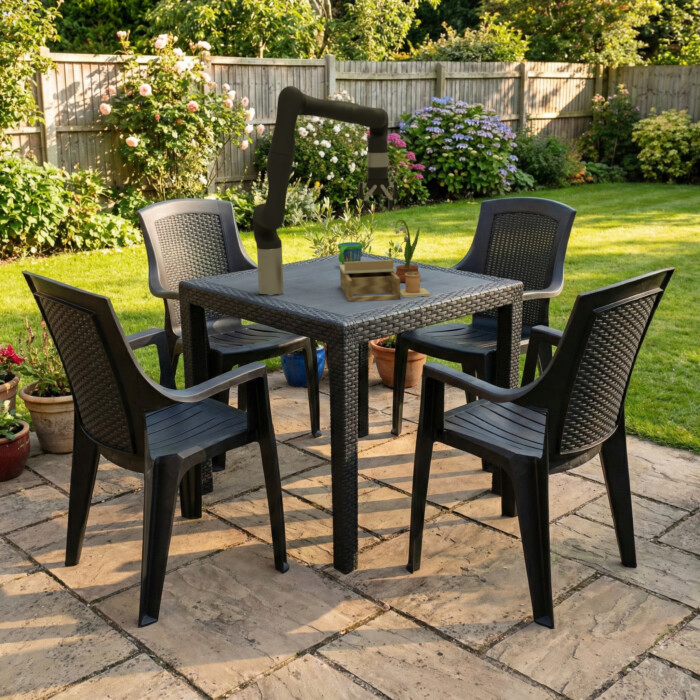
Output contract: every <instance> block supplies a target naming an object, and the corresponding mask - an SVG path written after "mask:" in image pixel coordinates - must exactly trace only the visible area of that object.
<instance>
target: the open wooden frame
mask: <svg viewBox="0 0 700 700" xmlns="http://www.w3.org/2000/svg"><path fill="white" fill-rule="evenodd" d="M339 269H340V268H339ZM339 273H340V274H339V275H340V276H339V278H340V279H339V280H340V288H341V290H342V292H343V294H344V295H345V296H346V298H347V300H348V302H349V303H352V302H354V303H355V301H356V302H370V301H371V302H373V301H393V300H394V301H395V300H396V301H397V300H401V295H400V289H401V282H400V278H399V277H398V276H397V275H396V274H395V273H396V272H395V271H391V272H368V273H346V274H343V272H342V271H341V269H340V270H339ZM365 294H366V295H365ZM370 294H371V295H370ZM372 294H373V295H372ZM374 294H381V295H374ZM382 294H383V295H382ZM353 295H361V296H353Z"/></svg>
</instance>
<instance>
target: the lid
mask: <svg viewBox="0 0 700 700" xmlns="http://www.w3.org/2000/svg"><path fill="white" fill-rule="evenodd" d="M338 266H339V269H341V271H342V272H343V274H346V273H368V272H391V271H393V272H396V267H394V260H393V259H386V260H385V259H382V260H362V261H361V260H360V261H356V262H344V265H342V264H339V265H338Z"/></svg>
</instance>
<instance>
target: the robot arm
mask: <svg viewBox="0 0 700 700" xmlns="http://www.w3.org/2000/svg"><path fill="white" fill-rule="evenodd" d="M277 97H278V98H277V106H276V117H275V125H274V128H273V133H272V137H271V142H270V145H269V150H268V156H267V160H266V178H267V183H268V184H267V185H268V189H267V196H266V200H265V202H263V203H259V204H257V206H255V208H254V210H253V212H252V228H253V236H254V241H255V244H256V257H257V280H258V283H257V284H258V294H259V293H260V294H279V295H282V294H281V293H283V292H285V290H284V289H285V287H284V272H283V271H284V268H283V244H282V240H281V238H280V237H279V234H278V231H277V230H278V229H280V227H281V226H282V225H283V222H284V220H285V212H286V204H287V203H286V200H287V193H288V189H289V184H290V178H291V173H292V168H293V164H294V159H295V154H296V134H295V133H296V125H297V120H298V116H310V117H318V118H325V119H329V120H333V121H338V122H343V123H347V124H352V125H359V126H363V127H366V128H369V136H368V138H367V158H366V163H367V164H366V165H367V166H366V167H367V171H366V173H367V174H366V176H367V177H366V179H367V180H366V182H362V181H361V182H358V188H357V189H358V191H357V198H358V200H361V201H363V203H362V206H363V210H364V211H365V212H368V211H369V201H368V200H369V198H370V197H371V196H372V195H383V194H384V195H385V196H386V198H388V201H387V205H388V206H387V207H388V211H389V212H391V211H392V210H393V208H394V203H393V202H394V200H395V199H398V198H399V196H398V195H399V194H398V182H397V181H395V180H393V181H389V157H388V132H389V115H388V112H387V111H386V110H385V109H383V108H381V107H372V106H367V105H365V106H364V105H360V104H357V103H354V102H349V101H343V100H337V99H336V100H335V99H334V100H333V99H321V98H318V97H314V96H310V95H307V94H305V93H303V92H302V91H301V90H300V89H299V88H298V87H296V86H294V85H288V86H285V87H284V88H283V89H282V90H280V92H279V94H278V96H277ZM365 187H366V188H367V189H368V190H367V192H366V193H365V195H364V196H363V192H364V191H363V189H365ZM389 187H391V188H392V193H393V195H391V193H390V192H389V190H388V188H389ZM283 294H284V293H283Z"/></svg>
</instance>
